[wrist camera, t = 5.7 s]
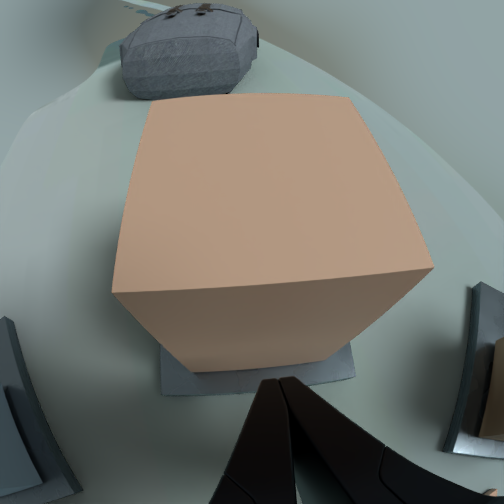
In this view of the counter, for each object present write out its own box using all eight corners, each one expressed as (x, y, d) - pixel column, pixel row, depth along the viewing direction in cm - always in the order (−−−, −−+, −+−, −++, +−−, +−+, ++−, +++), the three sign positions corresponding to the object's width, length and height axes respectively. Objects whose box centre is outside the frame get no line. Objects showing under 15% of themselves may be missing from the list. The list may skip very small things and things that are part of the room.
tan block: (324, 360, 13) (434, 267, 5) (191, 372, 12) (111, 292, 5) (303, 247, 16) (348, 97, 8) (189, 255, 15) (152, 100, 8)
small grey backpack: (260, 102, 26) (254, 39, 36) (264, 22, 19) (257, -10, 29) (109, 111, 25) (154, 44, 36) (90, 40, 18) (149, -2, 28)
